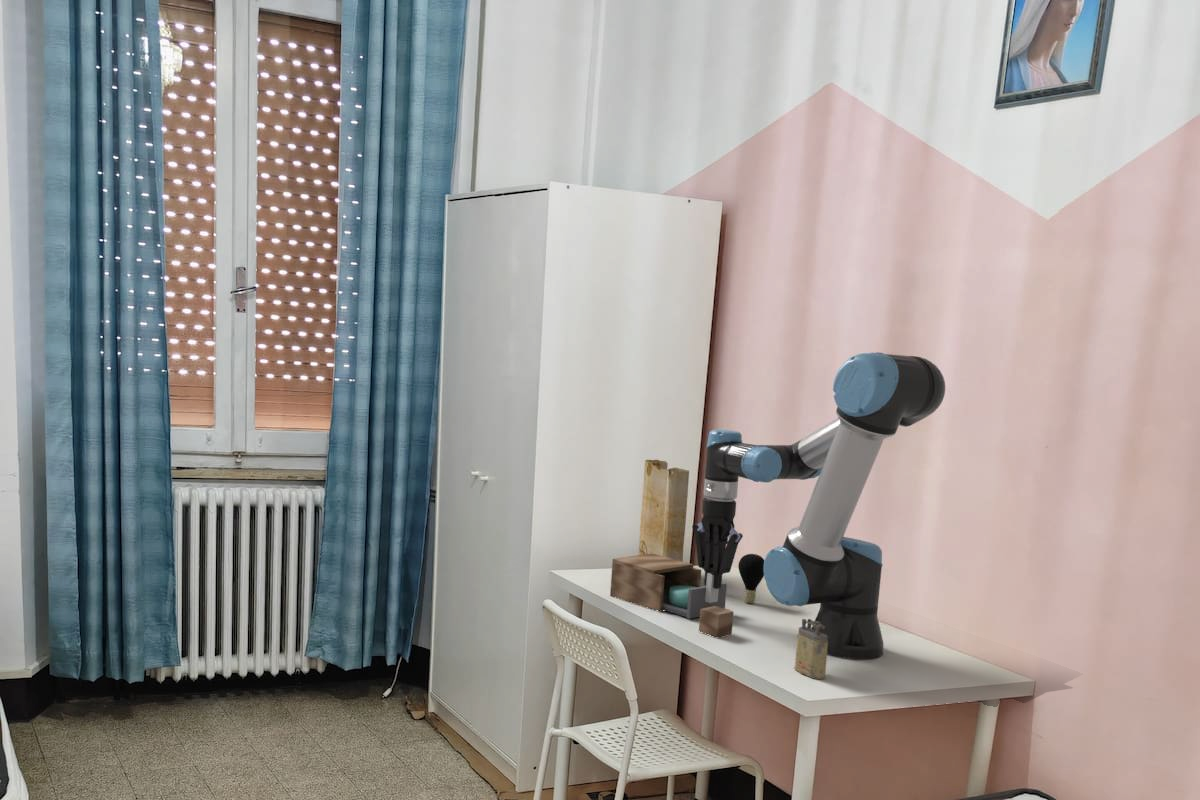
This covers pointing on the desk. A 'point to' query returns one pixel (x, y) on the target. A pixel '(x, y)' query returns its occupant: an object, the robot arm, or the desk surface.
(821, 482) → the robot arm
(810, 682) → the desk surface
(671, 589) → the teal rounded puck
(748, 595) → the light bulb
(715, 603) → the tray
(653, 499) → the tan piece
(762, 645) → the desk surface
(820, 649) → the lighter
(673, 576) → the box
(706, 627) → the block
